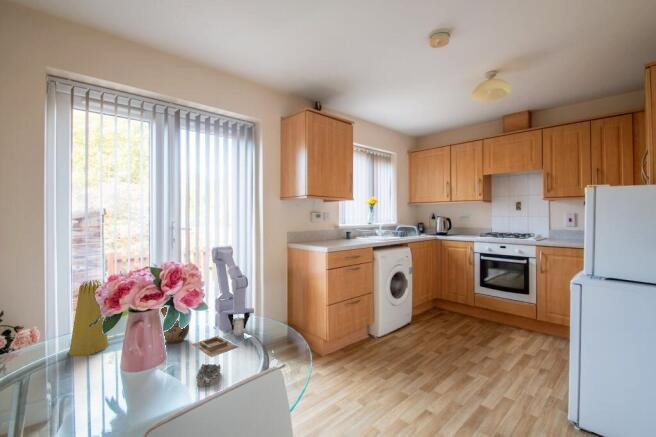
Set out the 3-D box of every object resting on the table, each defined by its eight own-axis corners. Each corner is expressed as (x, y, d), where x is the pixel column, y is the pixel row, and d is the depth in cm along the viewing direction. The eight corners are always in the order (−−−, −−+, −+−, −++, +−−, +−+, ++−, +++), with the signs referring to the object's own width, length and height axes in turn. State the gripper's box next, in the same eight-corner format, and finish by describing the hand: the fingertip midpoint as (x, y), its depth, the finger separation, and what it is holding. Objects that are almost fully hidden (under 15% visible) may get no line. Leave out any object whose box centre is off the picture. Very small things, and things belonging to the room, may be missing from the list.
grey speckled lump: (216, 387, 103) (217, 375, 103) (194, 389, 101) (194, 377, 101) (222, 371, 113) (222, 360, 113) (201, 372, 112) (201, 362, 112)
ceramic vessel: (196, 338, 142) (197, 287, 142) (188, 346, 133) (190, 292, 133) (162, 338, 141) (163, 286, 141) (151, 346, 132) (153, 291, 132)
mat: (222, 337, 143) (222, 336, 143) (241, 331, 152) (241, 330, 152) (234, 344, 136) (234, 343, 136) (254, 337, 145) (254, 336, 145)
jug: (233, 331, 145) (233, 317, 145) (243, 330, 147) (243, 317, 147) (233, 339, 137) (233, 324, 137) (244, 337, 139) (244, 323, 139)
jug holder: (191, 345, 134) (191, 340, 134) (217, 337, 144) (217, 332, 144) (211, 358, 122) (211, 353, 122) (238, 348, 133) (238, 343, 132)
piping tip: (115, 345, 132) (116, 279, 131) (79, 358, 119) (80, 286, 119) (98, 339, 137) (99, 276, 137) (61, 351, 125) (63, 282, 125)
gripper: (223, 304, 138) (223, 333, 138) (255, 302, 143) (254, 330, 143) (223, 300, 144) (222, 327, 144) (253, 298, 149) (252, 324, 149)
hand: (238, 328), depth 144 cm, fingers closed on jug, 5 cm apart
